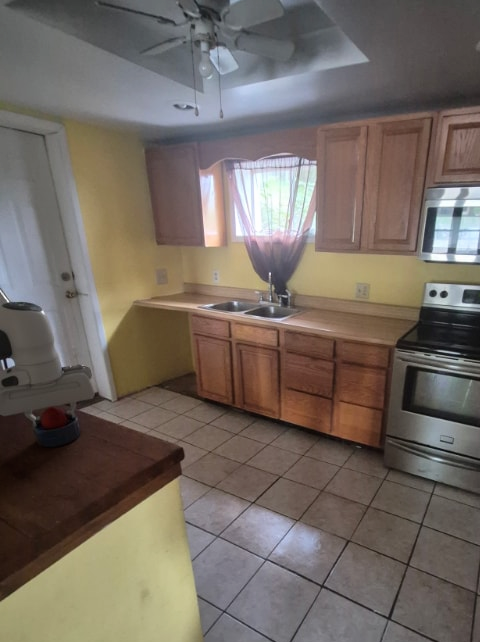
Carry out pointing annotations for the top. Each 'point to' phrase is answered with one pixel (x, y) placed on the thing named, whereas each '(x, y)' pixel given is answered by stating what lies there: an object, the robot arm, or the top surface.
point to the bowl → (57, 434)
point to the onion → (54, 418)
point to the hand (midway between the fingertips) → (54, 421)
